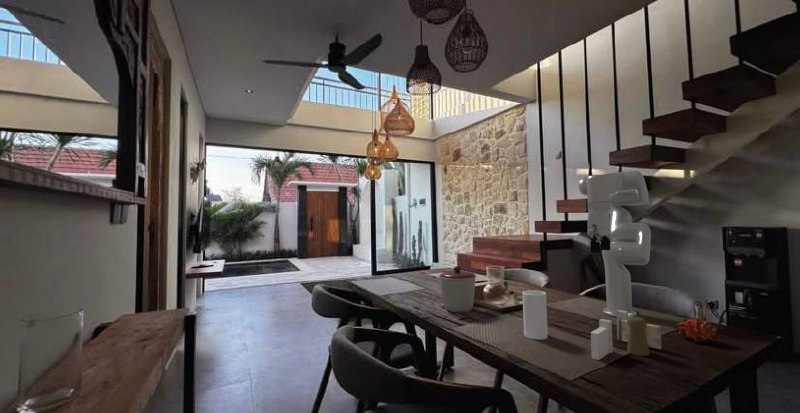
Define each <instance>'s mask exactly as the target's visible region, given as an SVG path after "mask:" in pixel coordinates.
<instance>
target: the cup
mask: <svg viewBox="0 0 800 413" xmlns="http://www.w3.org/2000/svg"><path fill="white" fill-rule="evenodd" d="M547 307H548V306H547V293H546V292H545V291H541V290H533V289H532V290H531V289H528V290H523V291H522V311H523V312H522V313H523V314H522V315H523V316H522V317H523V336H524V337H526V338H528V339H530V340H531V339H532V340H537V341H538V340H546V339H547V338H548V337H549V334H548V333H549V332H548V312H547V311H548V310H547V309H548V308H547Z"/></svg>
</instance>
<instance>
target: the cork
mask: <svg viewBox="0 0 800 413" xmlns="http://www.w3.org/2000/svg"><path fill="white" fill-rule="evenodd" d="M627 324H628V326H629V336H628V342H627V347H626V352H628V353H630V354H631V353H632V355H634V356H640V357H641V356H642V357H647V356H650V349H649V348H650V347H648V343H647V338H646V333H645V328H646V326H647V324H648V323H647V321H646V320H645V318H642V317H639V316H635V317H630V318H628V320H627Z"/></svg>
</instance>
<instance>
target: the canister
mask: <svg viewBox="0 0 800 413" xmlns="http://www.w3.org/2000/svg"><path fill="white" fill-rule="evenodd" d="M477 276H478V275H477V274H475V273H474V272H471V271H467V270H462V268H461V266H460V265H455V266H453V270H448V271H444V272H441V273H440V274H439V275H438V277H439V279H440V287H441V293H442V294H441V295H442V300H443V305H444V308H445V309H446V310H447V311H449V312H451V313H467V312H469V311H471V310H472V309H473V307H474V300H475V289H476V279H477Z"/></svg>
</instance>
